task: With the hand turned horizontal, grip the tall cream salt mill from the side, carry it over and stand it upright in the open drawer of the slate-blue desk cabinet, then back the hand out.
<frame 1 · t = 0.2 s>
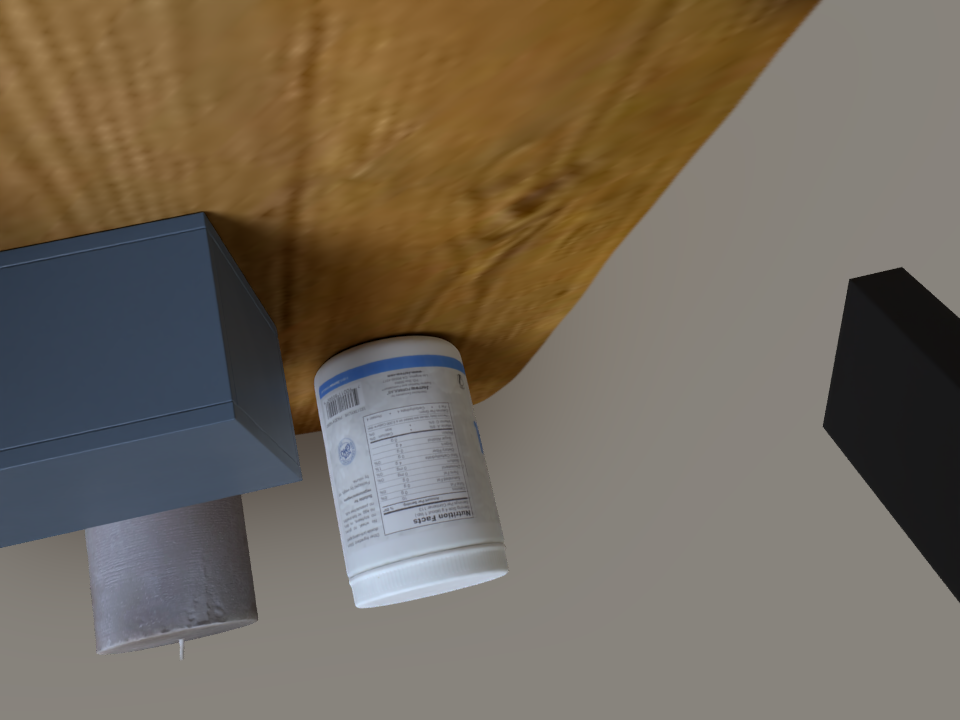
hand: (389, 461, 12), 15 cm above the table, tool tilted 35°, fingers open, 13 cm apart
cabinet: (69, 313, 39), on the table
pillar candle: (154, 424, 58), on the table
supplement tub: (385, 355, 56), on the table
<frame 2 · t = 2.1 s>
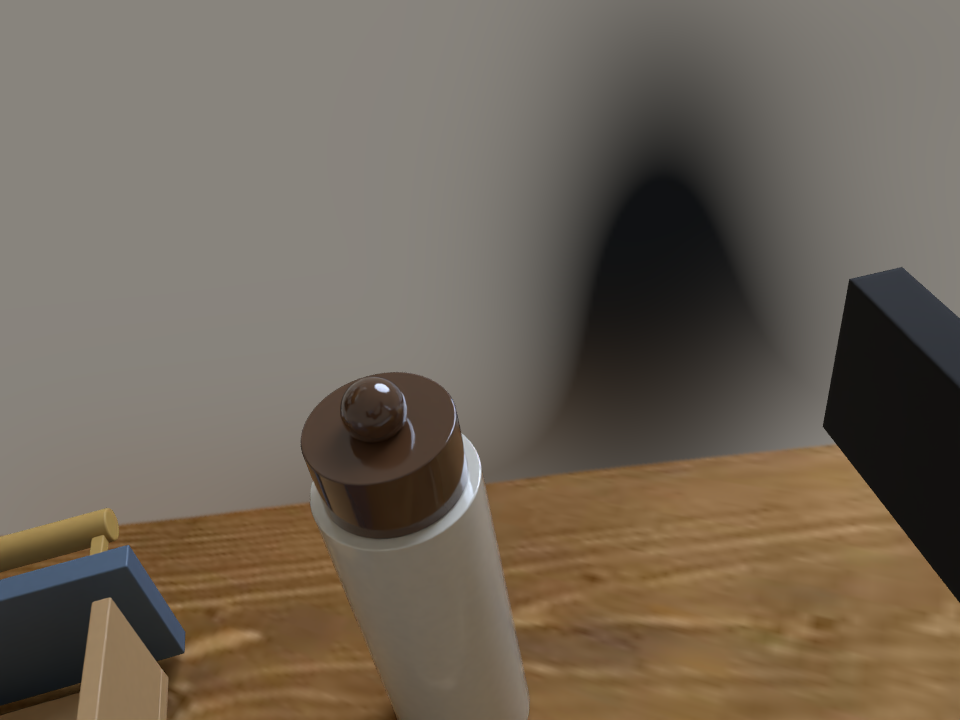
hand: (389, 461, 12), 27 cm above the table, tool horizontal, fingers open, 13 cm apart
salt mill: (464, 705, 37), on the table
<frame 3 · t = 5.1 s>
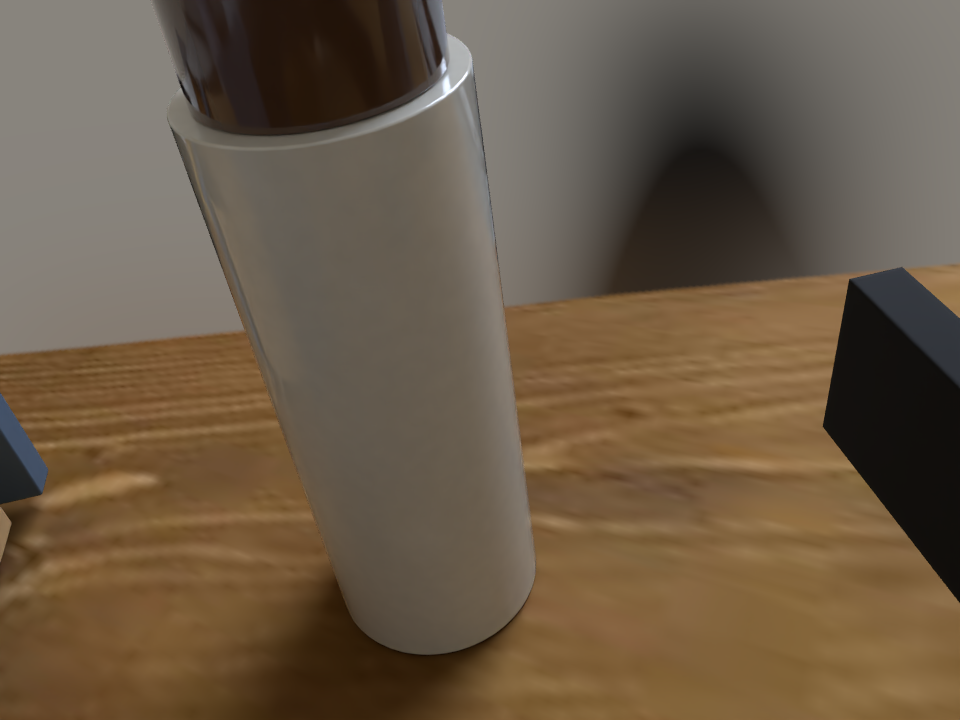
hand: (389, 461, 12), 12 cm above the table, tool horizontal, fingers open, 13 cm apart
salt mill: (438, 568, 25), on the table
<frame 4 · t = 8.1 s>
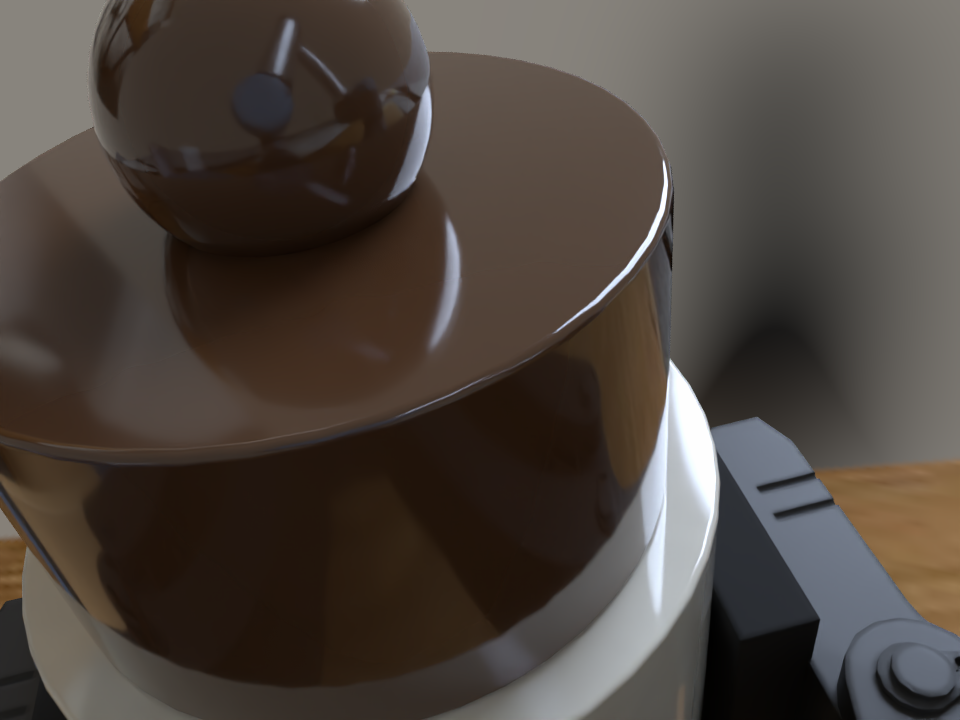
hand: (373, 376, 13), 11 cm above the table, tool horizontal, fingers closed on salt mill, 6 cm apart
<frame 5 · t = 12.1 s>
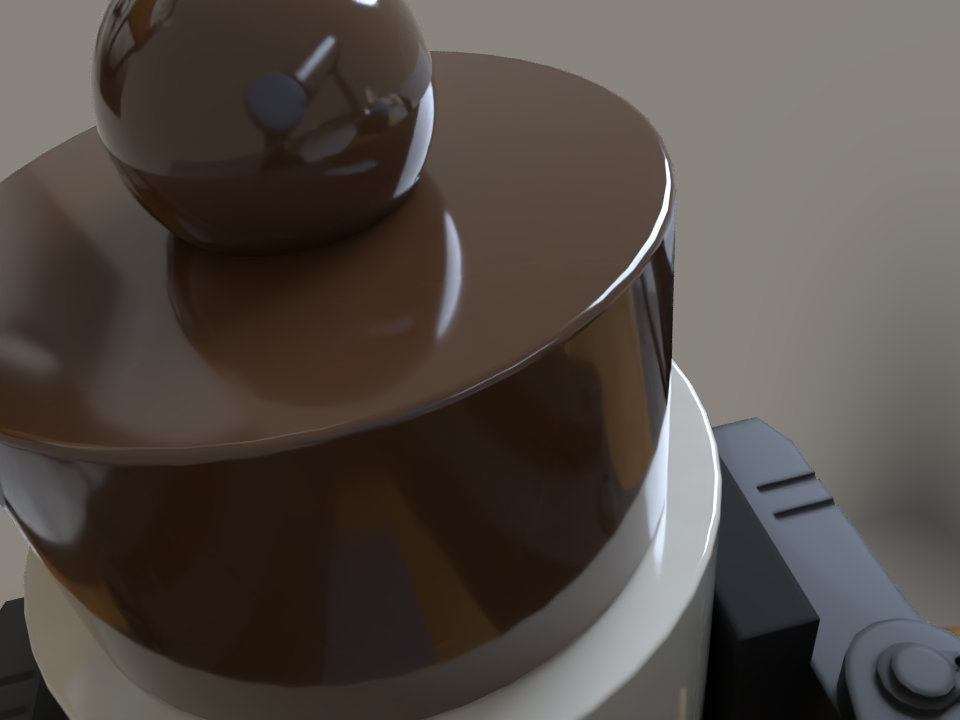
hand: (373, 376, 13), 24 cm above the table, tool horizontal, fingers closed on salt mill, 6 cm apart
when the fingers open (13 cm above the table, at t = 16.0 s): salt mill stays where it is, resting on drawer.
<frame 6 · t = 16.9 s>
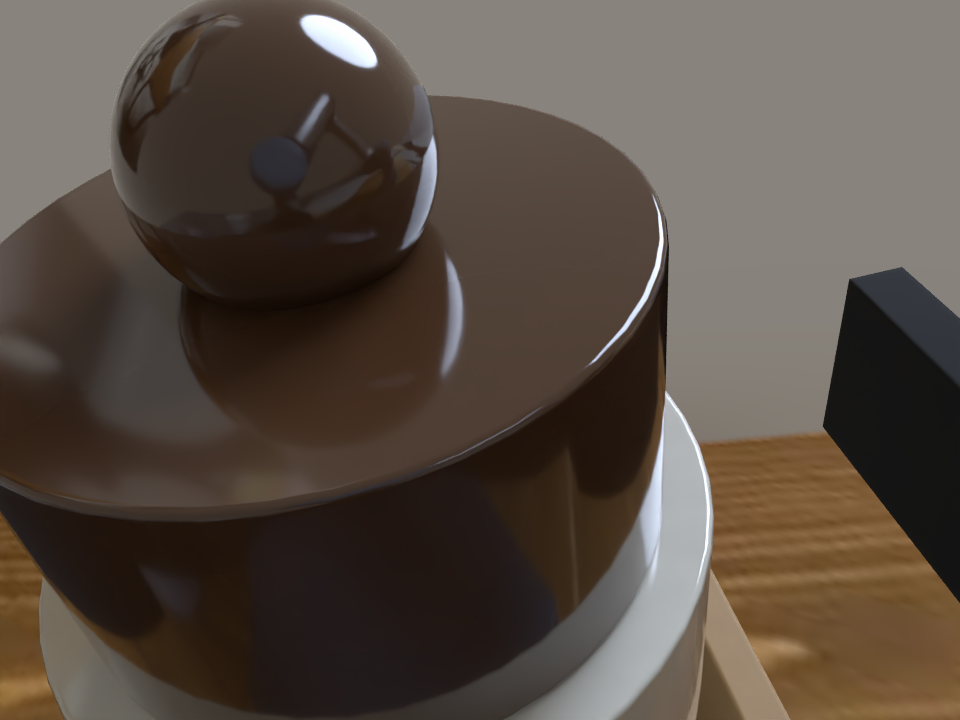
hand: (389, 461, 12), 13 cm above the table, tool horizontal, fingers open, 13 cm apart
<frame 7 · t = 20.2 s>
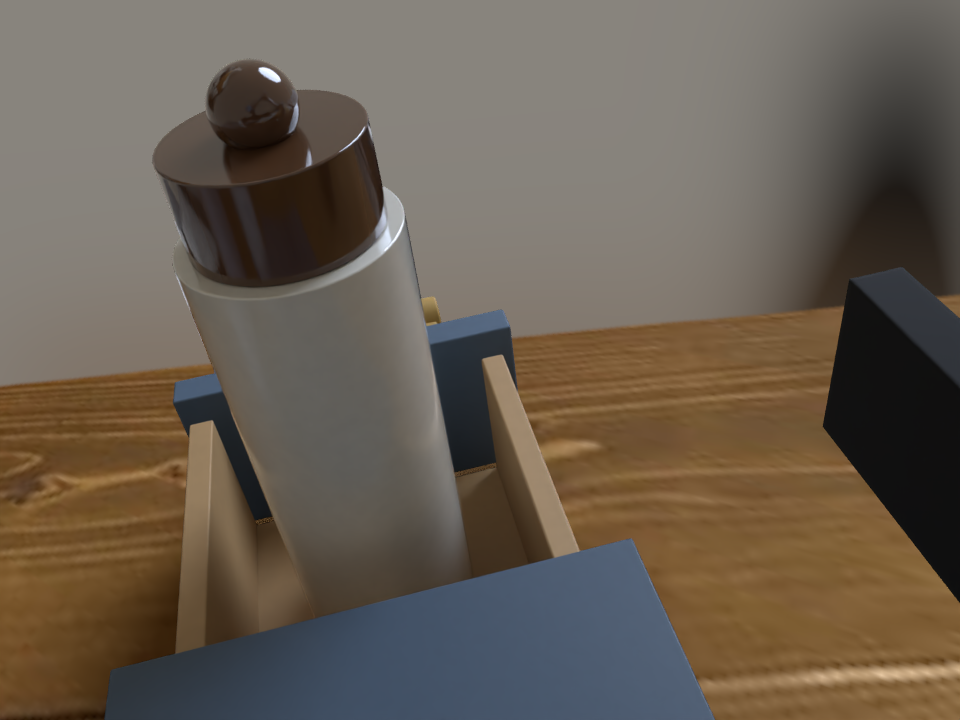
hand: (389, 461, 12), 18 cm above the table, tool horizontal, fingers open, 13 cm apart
salt mill: (394, 594, 30), point 2 cm above the table, touching drawer
drawer: (375, 505, 30), point 4 cm above the table, slide at 11.0 cm, touching salt mill
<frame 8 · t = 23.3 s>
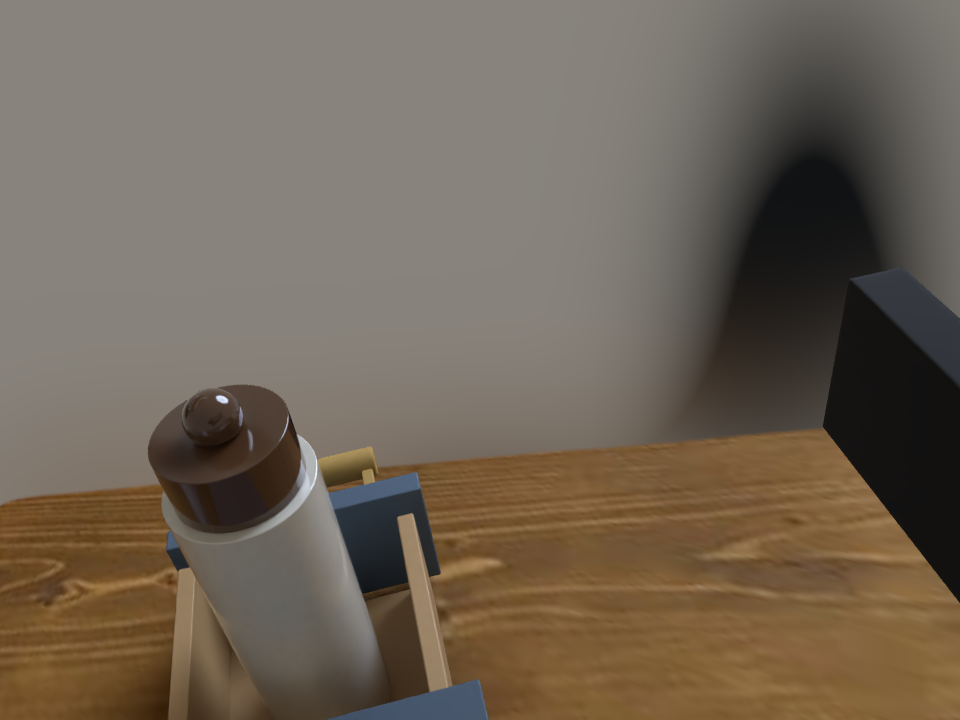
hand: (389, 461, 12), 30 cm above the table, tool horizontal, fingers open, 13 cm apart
salt mill: (331, 695, 40), point 2 cm above the table, touching drawer
drawer: (316, 628, 41), point 4 cm above the table, slide at 11.0 cm, touching salt mill
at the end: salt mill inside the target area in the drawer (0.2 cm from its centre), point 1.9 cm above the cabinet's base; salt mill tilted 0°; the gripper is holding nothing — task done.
